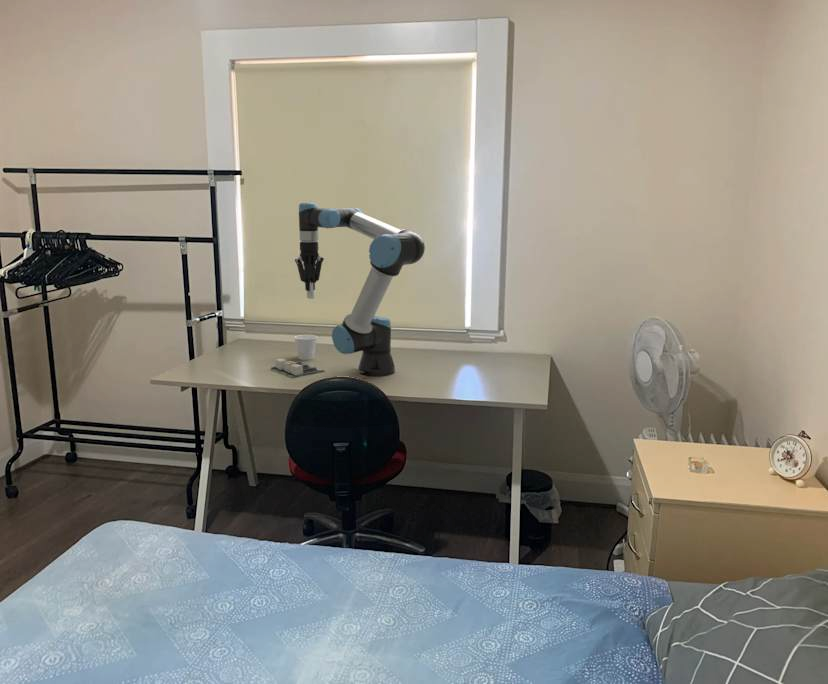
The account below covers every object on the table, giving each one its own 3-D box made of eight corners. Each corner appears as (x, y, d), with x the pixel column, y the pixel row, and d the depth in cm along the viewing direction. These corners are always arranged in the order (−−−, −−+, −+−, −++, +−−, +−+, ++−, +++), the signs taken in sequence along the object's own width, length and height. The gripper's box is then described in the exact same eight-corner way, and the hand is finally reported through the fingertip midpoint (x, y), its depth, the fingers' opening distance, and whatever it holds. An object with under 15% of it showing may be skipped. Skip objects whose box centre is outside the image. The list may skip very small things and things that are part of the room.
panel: (326, 374, 282) (326, 369, 282) (292, 381, 272) (292, 376, 271) (302, 366, 295) (302, 361, 295) (269, 372, 285) (268, 367, 284)
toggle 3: (303, 374, 276) (302, 365, 275) (296, 375, 274) (296, 367, 273) (297, 372, 279) (297, 364, 278) (291, 373, 277) (290, 365, 276)
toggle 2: (296, 371, 280) (295, 362, 280) (289, 372, 278) (289, 363, 278) (290, 369, 283) (290, 360, 282) (284, 370, 281) (284, 361, 280)
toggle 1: (287, 368, 284) (286, 360, 284) (280, 369, 282) (280, 361, 282) (281, 366, 287) (281, 358, 286) (275, 367, 285) (275, 359, 285)
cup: (320, 359, 308) (319, 334, 305) (314, 364, 298) (314, 339, 296) (298, 358, 309) (297, 334, 306) (292, 363, 299) (291, 338, 297)
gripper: (317, 240, 290) (318, 295, 296) (290, 241, 282) (292, 298, 287) (327, 241, 285) (328, 297, 290) (300, 242, 276) (302, 301, 282)
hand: (310, 298), depth 289 cm, fingers closed
